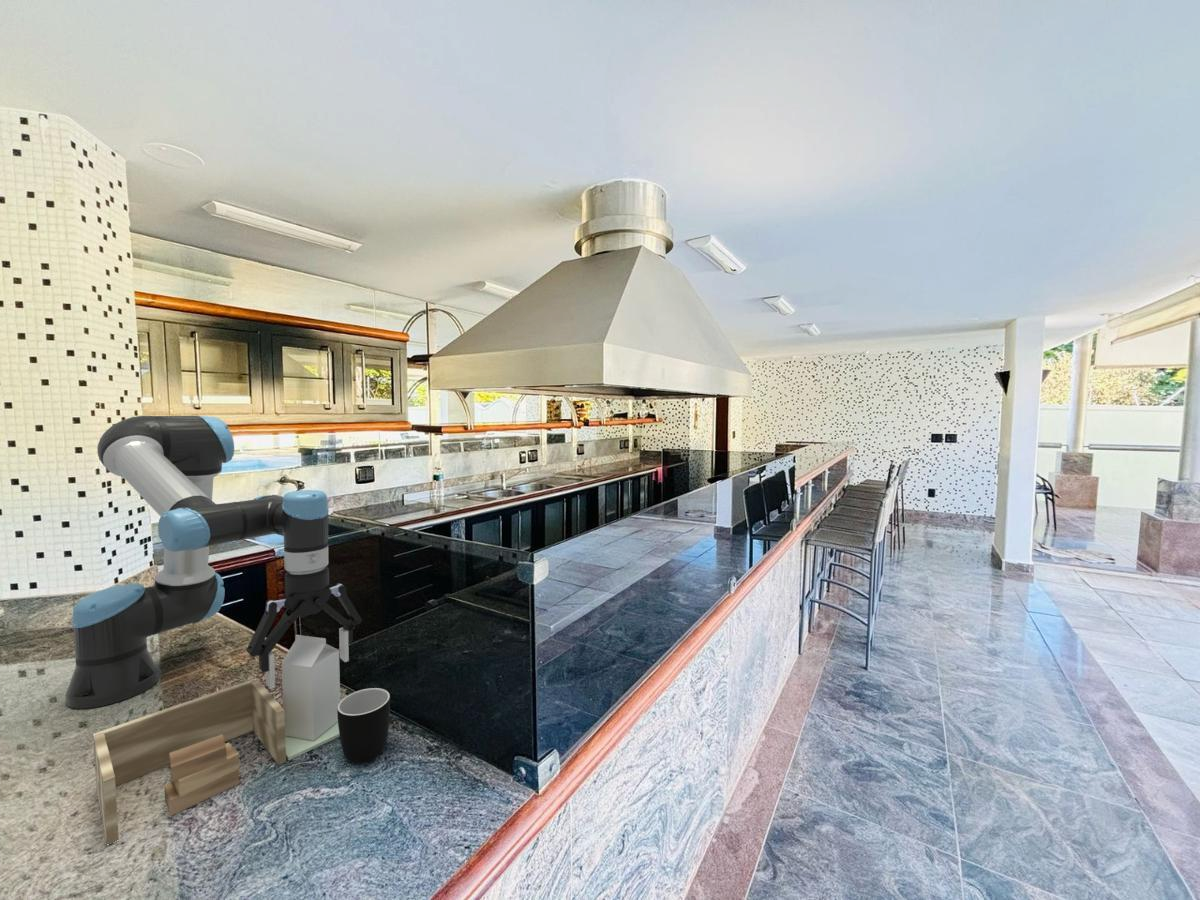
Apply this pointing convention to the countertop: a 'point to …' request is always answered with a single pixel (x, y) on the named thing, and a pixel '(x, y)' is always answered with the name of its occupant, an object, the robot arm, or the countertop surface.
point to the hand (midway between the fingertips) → (309, 672)
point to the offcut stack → (201, 773)
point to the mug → (364, 724)
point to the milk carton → (310, 687)
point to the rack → (182, 738)
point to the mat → (309, 742)
